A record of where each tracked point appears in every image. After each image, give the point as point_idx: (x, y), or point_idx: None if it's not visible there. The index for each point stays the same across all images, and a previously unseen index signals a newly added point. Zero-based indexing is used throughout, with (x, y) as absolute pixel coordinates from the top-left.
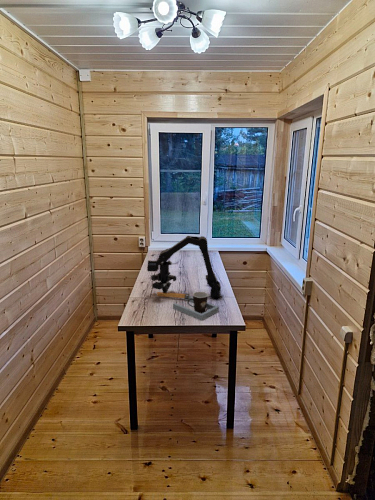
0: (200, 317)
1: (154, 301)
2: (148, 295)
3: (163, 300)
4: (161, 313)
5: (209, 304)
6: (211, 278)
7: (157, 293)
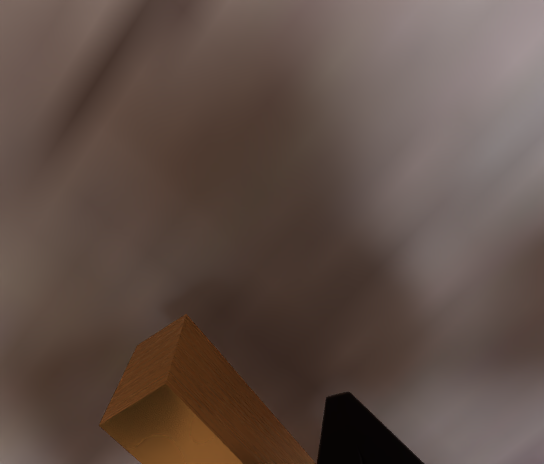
0: None
1: (4, 397)
2: (59, 3)
3: None
4: None
5: None
6: None
7: (119, 409)
